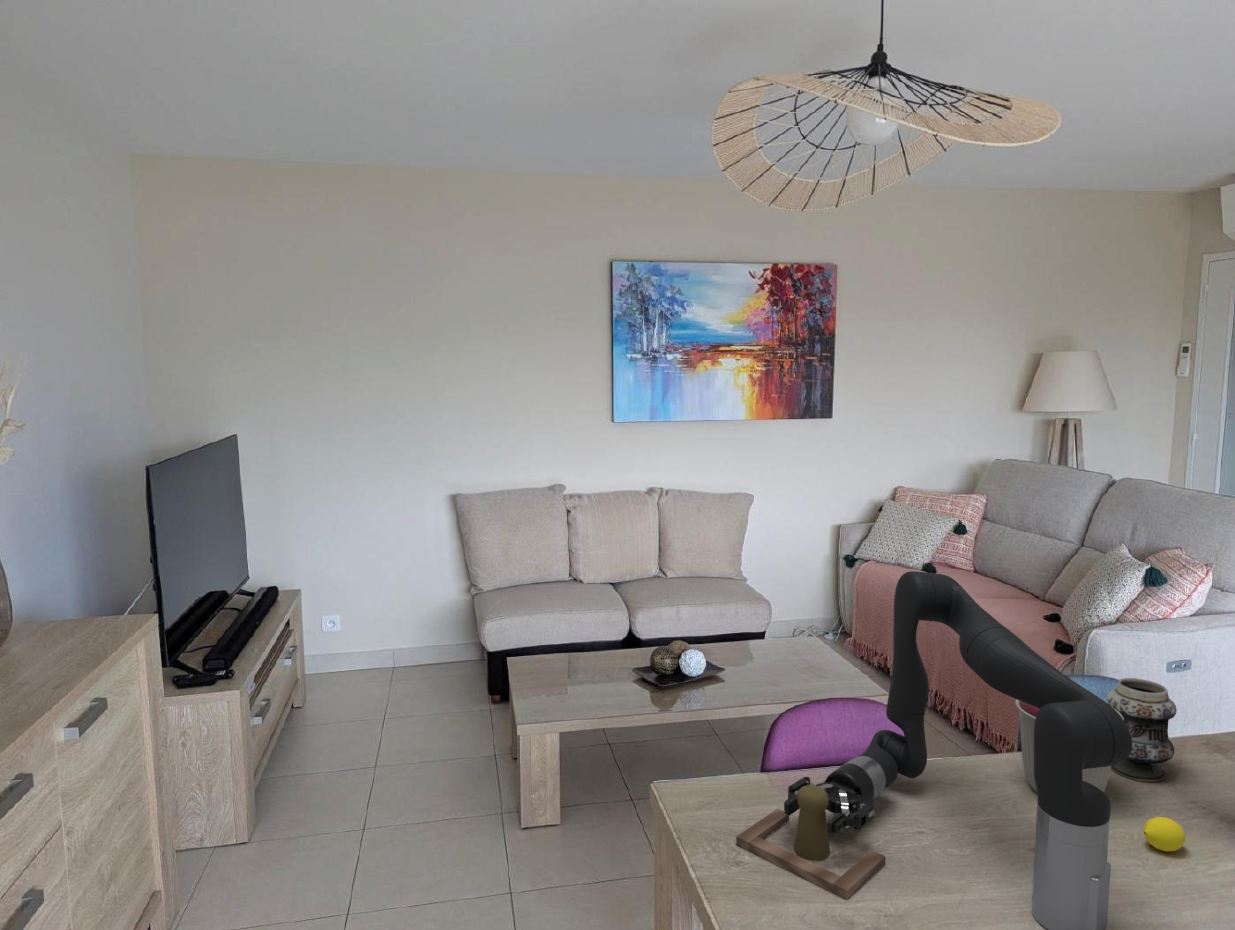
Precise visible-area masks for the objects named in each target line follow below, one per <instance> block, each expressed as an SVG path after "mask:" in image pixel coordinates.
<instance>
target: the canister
mask: <svg viewBox="0 0 1235 930" xmlns="http://www.w3.org/2000/svg"><path fill="white" fill-rule="evenodd" d="M1015 706H1016V709H1018V711H1019V713H1018V714H1019V725H1020V726H1019V727H1020V740H1021V741H1020V742H1021V757H1022V765H1023V772H1024V775H1025V779H1026V780H1027V782H1028V784H1029V786H1030V787H1031V788H1032V789H1033V790H1034V791H1035V792H1037V787H1036V783H1035V778H1034V724H1035V719H1036V716H1037V713H1038V711H1039V710H1040V709H1039V708H1037V707H1035V706H1032V705H1030V704H1027V703H1025V702H1022V701H1020V700H1017V699H1015ZM1112 708H1113V707H1112ZM1115 710H1116V709H1115ZM1116 711H1117V710H1116ZM1117 713H1118V714H1119V715H1120V716H1121V717H1122V719H1123V720H1124V718H1123V716H1122V715H1121V714H1120V713H1119V712H1118V711H1117ZM1110 773H1111V766H1108V767H1099V768H1089V769H1083V770H1082V780H1083V781H1085V782H1088V783H1090V784H1092V785H1094V786H1096V787H1097V788H1099V789H1100V790H1102V791H1103V792H1104V793H1105V792H1106V788H1107V785H1108V780H1109V777H1110Z"/></svg>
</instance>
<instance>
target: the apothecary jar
mask: <svg viewBox="0 0 1235 930" xmlns="http://www.w3.org/2000/svg"><path fill="white" fill-rule="evenodd" d="M1106 703H1108V704H1109V705H1110V706H1111V707H1113V708H1114V709H1116V710H1117V711H1118V712H1119V713H1120V714H1121V715H1122V716H1123V718H1124V721H1125V723H1126V725H1127V727H1128V729H1129V731H1130V734H1131V737H1132V744H1133V745H1132V752H1131V754H1130V756H1129V757H1128V758H1127V759H1126V760H1125V761H1123V762H1121V763H1119V764H1116V765H1112V766H1111V769H1110V771H1112V772H1114V773H1116V774H1117V775H1120V776H1122V777H1124V778H1127V779H1130V780H1134V781H1139V782H1146V783H1158V782H1162V781H1165V779H1166V777H1167V773H1166V772H1165V770H1164V769H1163V768H1161V766H1158V765H1157V764H1162V763H1166V762H1167V761H1170V760H1171V759H1172V758H1173V757H1174V755H1175V747H1174V744H1173V743H1172V741H1171V740H1170V739H1169V737H1168V735H1169V730H1168V729H1169V720H1171V719H1173V718H1174V717H1175V716H1176V714H1177V705H1176V704H1175V702H1174V701H1173V700H1172V699H1171V698H1170V696H1169V693H1168V688H1167V687H1166V686H1164V685H1162V684H1161V683H1158V682H1155V681H1152V680H1147V679H1143V678H1135V677H1123V678H1120V679H1118V681H1117V685H1116V687H1115V688H1113V689H1112V690H1110V691H1109V692H1108V694H1107V696H1106Z"/></svg>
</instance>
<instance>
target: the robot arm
mask: <svg viewBox="0 0 1235 930" xmlns="http://www.w3.org/2000/svg"><path fill="white" fill-rule="evenodd" d="M893 599H894V600H893V631H892V633H893V638H892V640H893V641H892V642H893V646H892V647H893V650H892V651H893V652H892V654H893V656H892V657H893V660H892V672H891V673H892V674H891V681H890V685H889V686H890V687H889V691H888V697H887V704H886V709H885V710H886V711H885V715H886V717H887V719H888V720H889V721H890V722H891V723H893V724H894V725H895V726H897V727H899V729H900V730H901V731H902V733H903V734H900V733H897V732H894V731H892V730H889V729H882V730H878V731H877V732H875V733H874V735H873V736H872V739H871V741H870V743H869V745H868V747H866V749H865V751H864V752H863V753H861V754H859V755H858V756H857V757H855V758H853V759H850V760H848V761H847V762H846V763H844V764H843V765H841V766H839V767H838V768H836V769H835V770H833V771H832V772H831V773H829V774H828V776H827V777H826V779H825V780H824V781H823V782H820V783H817V784H815V783H812V782H811V778H810V777H809V776H803V777H802V778H800V779H799V780H796V781H795V782H794V783H792V784H791V785H789V786H787V799H786V800H785V801H784V803H783V811H784V812H785V814H786V815H788V816H789V817H790V816H791V815H793V814H794V813H795V812H797V811H798V810H800V806H799V805H798V801H797V794H798V791H799V790H800V788H802V787H803V786H807V785H815V786H818V787H821V788H822V789H824V790H825V791H826V793H827V795H828V798H829V803H828V807H827V809H826V810H825V811H828V812H830V813H831V814H834V816H833V817H832V818H830V820H828V822H827V833H828V835H831V836H833V835H835V834H838V833H840V832H841V831H842V830H844V829H848V828H850V827H853V830H854V831H857V832H858V831H859V832H860V831H861V830H862V829H864V828H865V827H866V826H868V824H869V823H871V822H872V821H873V820H874V819H875V803H874V802H872V801H874V800H875V799H876V798H877V797H879V796H880V794H881V793H882V792H883V791H884V790H885V789H887V788H888V787H889V786H891V785H892V784H893V783H894V782H895V780H896V779H897V777H898V774H900V775H901V776H904V777H906V778H910V779H915V778H918V777H919V776H921V775H922V774H923V773H924V771H925V769H926V766H927V764H928V763H927V762H928V751H927V742H926V734H925V733H926V732H925V715H926V710H927V704H928V698H929V693H930V692H929V691H930V687H929V685H930V683H929V678H928V673H927V670H926V668H925V665H924V662H923V659H922V657H921V653H920V652H919V646H918V642H917V632H918V627H919V626H918V625H919V622H920V621H926V622H935V623H940V624H944V625H946V626H947V627H948V628H950V629H952V631H954V633H956V634H957V635H958V636H959V641H958V645H959V651H960V655H961V657H962V660H963V662H965V664H966V666H968V667H969V668H970V669H971V670H972V671H973V672H974V673H975V674H976V675H977V676H978V677H979V678H980V679H981V680H982V681H983V682H984V683H985V684H986V685H988V686H989V687H990V688H992V689H994V690H996V691H998V692H1000V693H1002V694H1004V695H1006V696H1008V697H1011V698H1013V699H1015V700H1016V699H1017V700H1020V701H1022V702H1025V703H1027V704H1030V705H1032V706H1035V707H1037V708H1039V709H1040V710H1039V711H1038V713H1037V716H1036V719H1035V724H1034V778H1035V783H1036V787H1037V791H1036V792H1037V801H1036V802H1037V804H1036V805H1037V807H1036V823H1035V837H1034V838H1035V840H1034V841H1035V843H1034V855H1033V857H1034V860H1033V873H1032V874H1033V876H1032V878H1033V879H1032V894H1031V913H1032V916H1033V918H1034V919H1035V920H1036V921H1037V923H1039V924H1040V925H1041V926H1042V927H1044V928H1045V929H1047V930H1105V929H1106V926H1107V925H1108V914H1109V913H1108V911H1109V901H1110V900H1109V899H1110V897H1109V896H1110V885H1111V871H1112V867H1111V866H1112V865H1111V863H1110V862H1108V853H1109V836H1110V833H1109V832H1110V823H1111V822H1110V820H1111V806H1112V805H1111V800H1110V798H1109V796H1108V794H1106V793H1105V792H1103V791H1102V790H1100V789H1099V788H1097V787H1096V786H1094V785H1092V784H1090V783H1088V782H1085V781H1083V780H1082V770H1083V769H1089V768H1099V767H1108V766H1112V765H1116V764H1119V763H1121V762H1123V761H1125V760H1126V759H1127V758H1128V757H1129V756H1130V754H1131V752H1132V745H1133V744H1132V737H1131V734H1130V731H1129V729H1128V727H1127V725H1126V723H1125V721H1124V720H1123V719H1122V717H1121V716H1120V715H1119V714H1118V713H1117V711H1116V710H1115V709H1114V708H1112V707H1111V706H1110V705H1109V704H1108V702H1107V701H1106V700H1105V701H1104V699H1102V698H1101V697H1099V696H1097V695H1095V693H1093V692H1091V691H1090V690H1088V689H1086V688H1084V687H1083V686H1082V685H1080V684H1078V683H1077V682H1076V681H1074V680H1073V679H1071V678H1069V677H1068V676H1066V675H1065V674H1064V673H1062V672H1061V671H1060V670H1059V669H1058V668H1056V667H1055V666H1054V665H1052V664H1051V663H1050V662H1048V661H1047V660H1046V659H1044V658H1043V657H1042V656H1041V655H1039V654H1038V653H1037V652H1036V651H1035V650H1033V649H1032V648H1031V647H1030V646H1028V645H1027V643H1025V642H1024V641H1023V640H1022V639H1021V638H1020V637H1019V636H1017V635H1016V634H1015V633H1014V632H1013V631H1011V630H1010V629H1009V628H1008V627H1006V626H1005V625H1003V624H1002V623H1001V622H999V621H998V620H997V619H996V618H994V617H993V616H992V615H991V614H990V613H989V612H987V611H986V610H985V609H984V608H983V607H981V605H979V604H978V603H977V601H975V599H973V598H972V596H971V595H970V594H969V593H968V592H967V591H966V590H965V588H964V587H963V586H962V585H961V584H960V583H959V582H958V581H957V580H956V579H954V578H952V577H951V576H948V575H946V574H942V573H934V572H925V571H917V570H915V571H912V570H911V571H906V572H904V573H902V575H901V576H900V577H899V578H898V581H897V583H896V587H895V591H894V598H893ZM835 814H836V815H835Z"/></svg>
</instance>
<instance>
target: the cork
mask: <svg viewBox="0 0 1235 930" xmlns="http://www.w3.org/2000/svg"><path fill="white" fill-rule="evenodd" d="M797 801H798V805H799V806H800V809H799V814H798V819H797V826H796V831H795V836H794V837H795V838H794V842H793V843H794V844H793V851H795V852H794V853H795V855H797V856H799V857H801V858H803V859H805V860H807V861H810V862H820V861H825V860H826V859H828V858H829V857H830V854H831V848H830V840H829V834H828V833H827V827H828V822H827V814H826V811H827V810H826V809H827V807H828V803H829V798H828V795H827V793H826V791H825V790H824V789H822V788H821V787H818V786H815V785H807V786H803V787H802V788H800V790H799V791H798V794H797Z"/></svg>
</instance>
